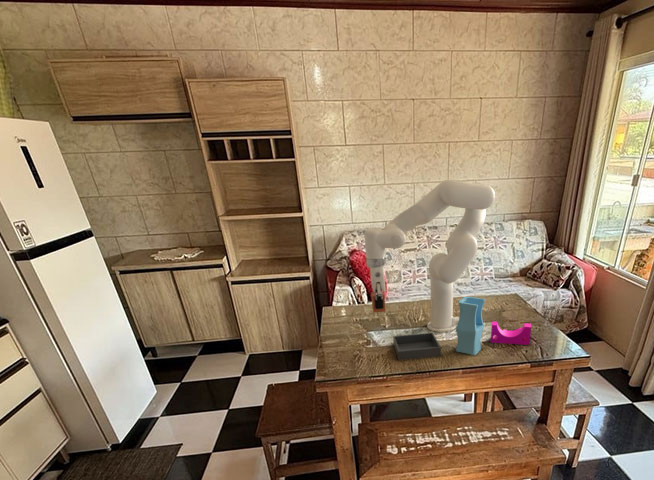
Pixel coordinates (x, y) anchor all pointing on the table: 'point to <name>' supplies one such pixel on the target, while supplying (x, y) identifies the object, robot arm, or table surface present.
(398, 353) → the tub
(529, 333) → the toy block
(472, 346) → the vase
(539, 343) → the table surface
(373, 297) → the wooden block
